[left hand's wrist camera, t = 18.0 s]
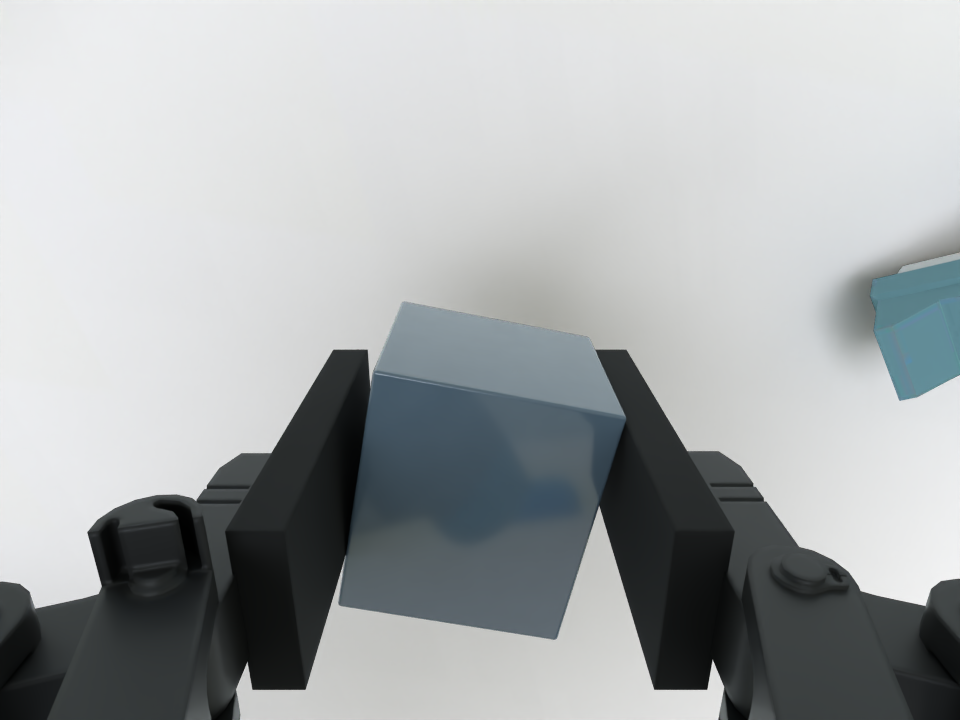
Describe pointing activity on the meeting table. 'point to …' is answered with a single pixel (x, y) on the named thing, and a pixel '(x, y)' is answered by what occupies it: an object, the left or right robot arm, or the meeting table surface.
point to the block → (479, 472)
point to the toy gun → (919, 324)
